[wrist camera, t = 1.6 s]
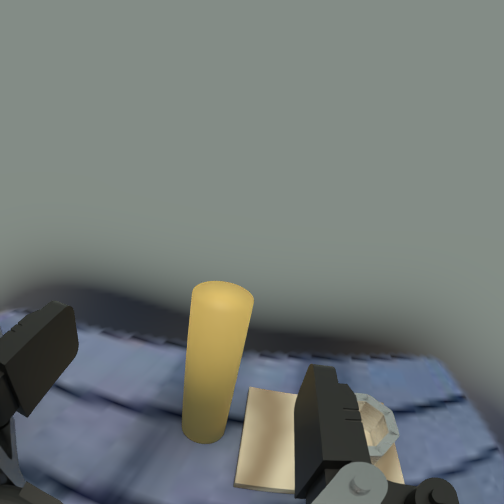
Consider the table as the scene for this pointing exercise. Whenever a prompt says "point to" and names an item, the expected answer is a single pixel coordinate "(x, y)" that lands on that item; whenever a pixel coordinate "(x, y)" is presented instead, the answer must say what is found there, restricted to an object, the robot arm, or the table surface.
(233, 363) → the ochre steel pin
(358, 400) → the steel ring collar
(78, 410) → the table surface
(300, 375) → the table surface
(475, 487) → the table surface
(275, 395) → the birch board
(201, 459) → the table surface
